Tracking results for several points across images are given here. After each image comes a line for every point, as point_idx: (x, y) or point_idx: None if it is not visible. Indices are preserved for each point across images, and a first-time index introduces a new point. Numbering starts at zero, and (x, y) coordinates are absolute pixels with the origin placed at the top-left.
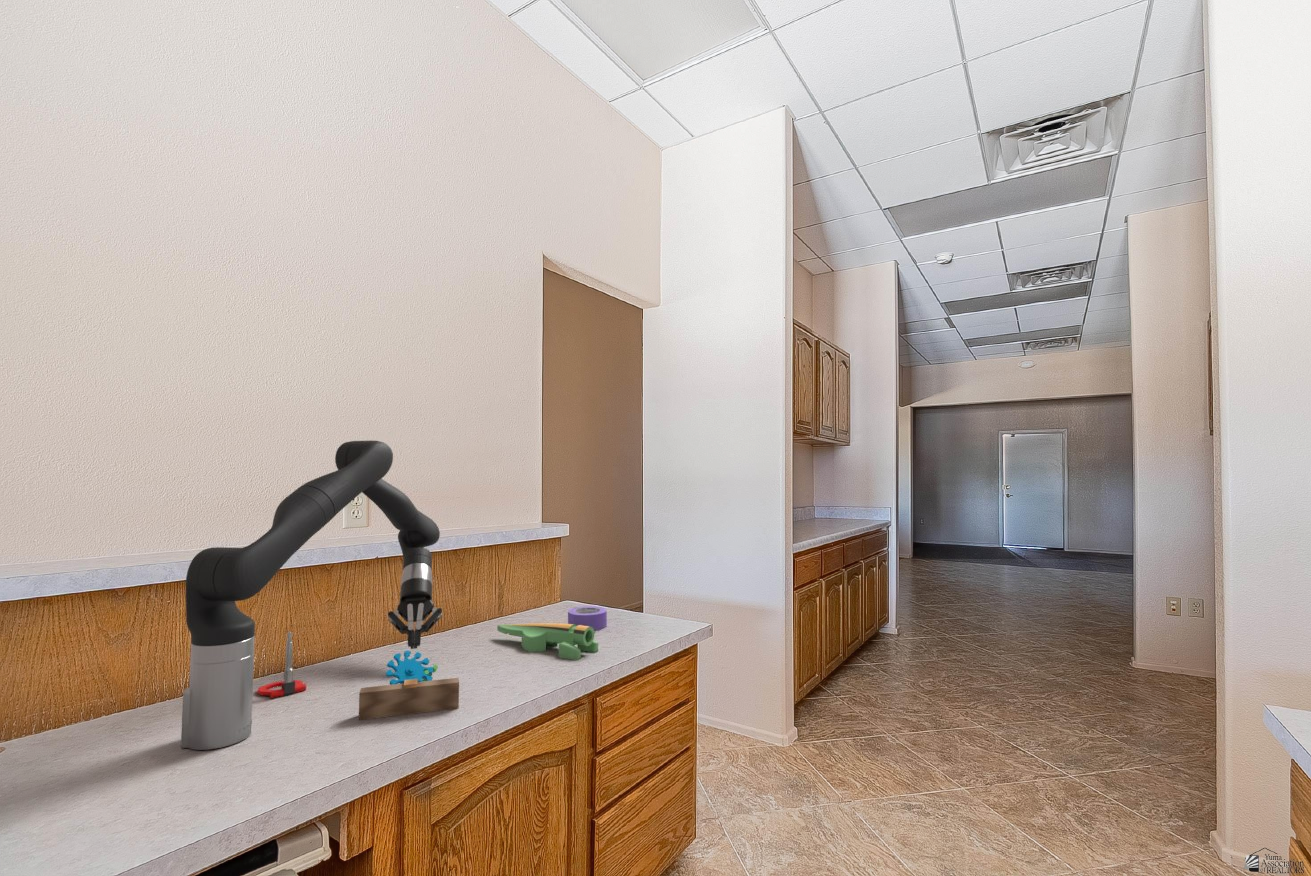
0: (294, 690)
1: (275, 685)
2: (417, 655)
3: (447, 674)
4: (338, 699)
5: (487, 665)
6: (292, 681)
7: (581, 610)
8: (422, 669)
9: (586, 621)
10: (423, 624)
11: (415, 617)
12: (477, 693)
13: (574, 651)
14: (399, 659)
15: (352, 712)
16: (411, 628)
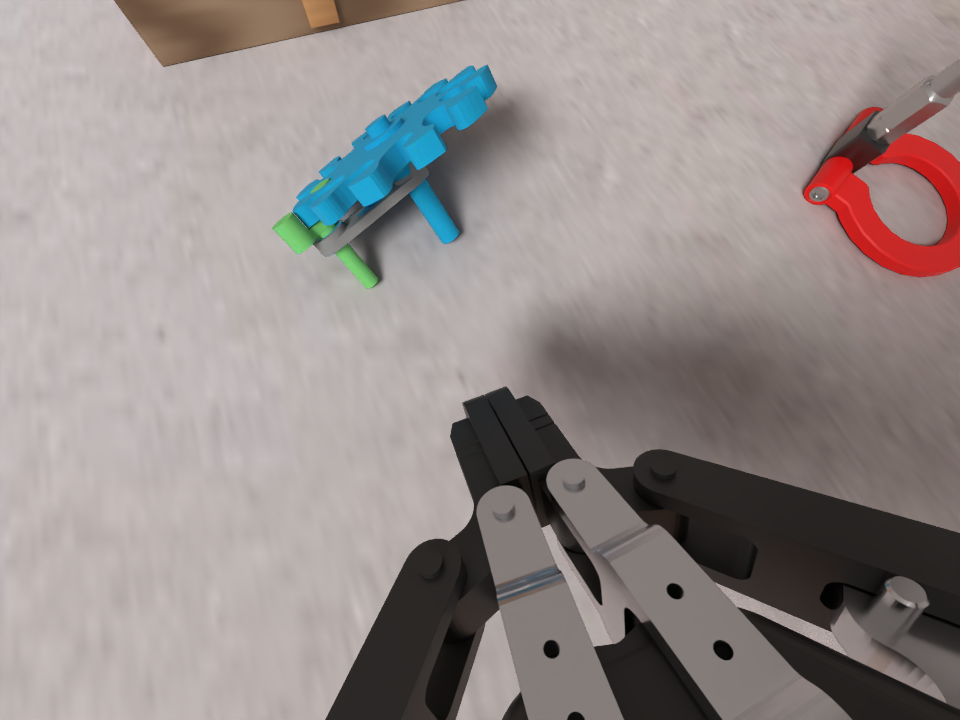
0: (826, 158)
1: (950, 232)
2: (367, 171)
3: (288, 389)
4: (621, 112)
5: (85, 554)
6: (868, 136)
7: None
8: (337, 174)
9: None
10: (474, 585)
11: (613, 648)
12: (97, 150)
13: None
14: (445, 103)
15: (507, 12)
16: (562, 470)
